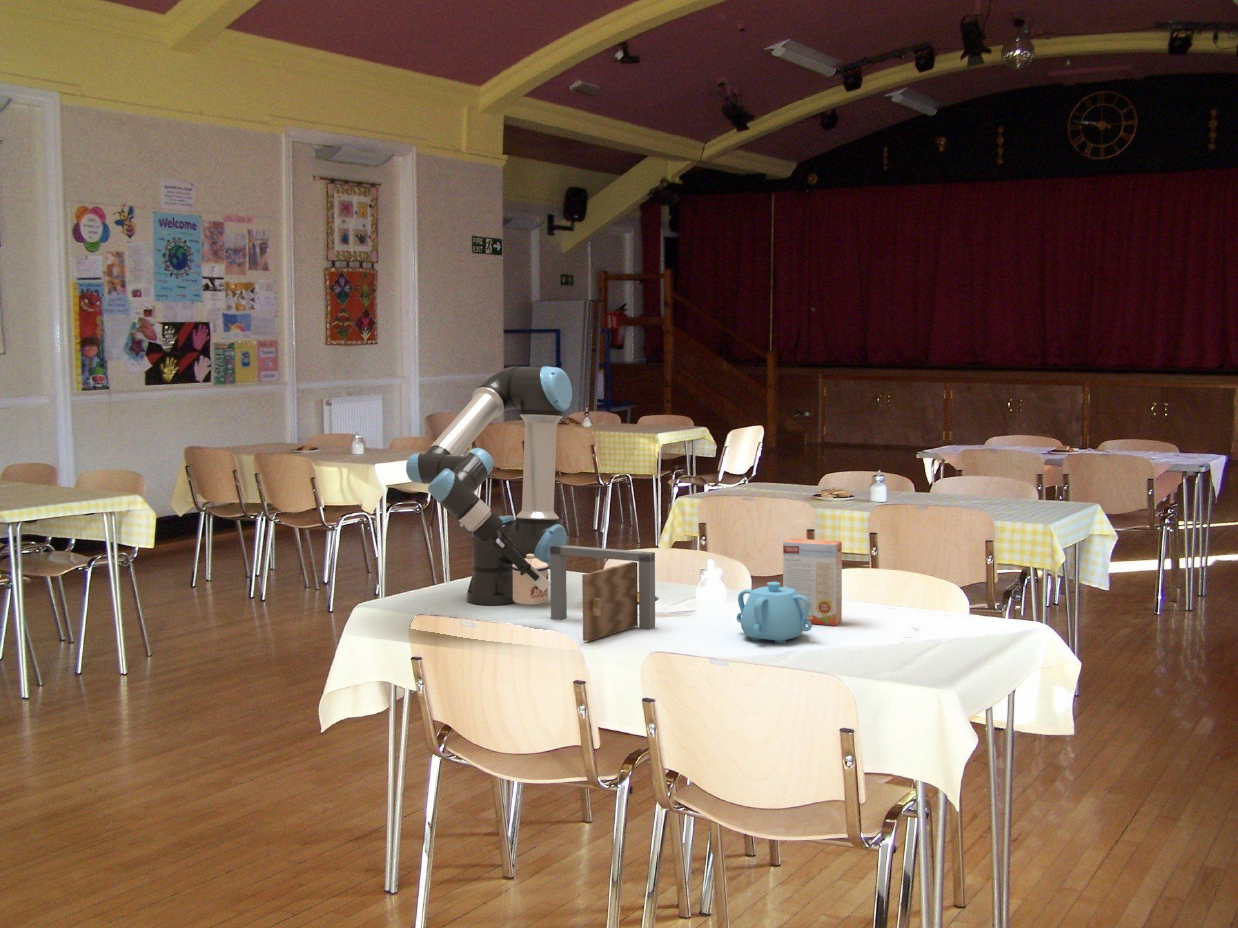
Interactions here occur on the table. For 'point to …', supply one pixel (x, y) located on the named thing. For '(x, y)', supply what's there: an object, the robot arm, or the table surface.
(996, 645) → the table surface
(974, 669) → the table surface
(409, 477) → the robot arm
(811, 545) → the cracker box
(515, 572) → the teacup with lid
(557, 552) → the door frame
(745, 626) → the decorative pot
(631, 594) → the door
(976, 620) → the table surface
